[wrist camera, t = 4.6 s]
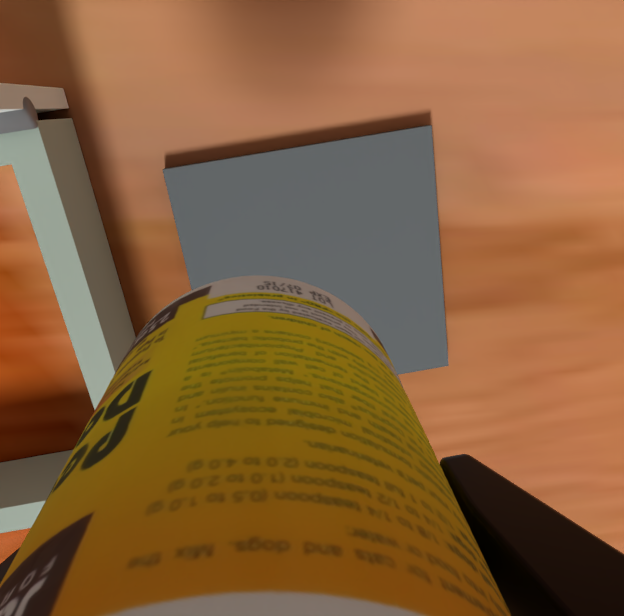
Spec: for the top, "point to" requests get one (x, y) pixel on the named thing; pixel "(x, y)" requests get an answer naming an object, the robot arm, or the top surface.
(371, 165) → the mat
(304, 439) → the supplement bottle
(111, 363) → the drawer
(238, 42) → the top surface
